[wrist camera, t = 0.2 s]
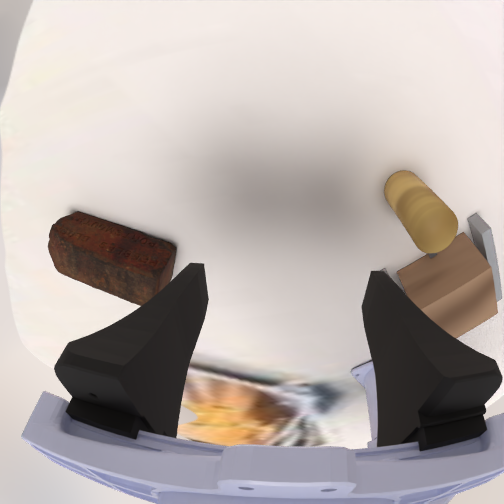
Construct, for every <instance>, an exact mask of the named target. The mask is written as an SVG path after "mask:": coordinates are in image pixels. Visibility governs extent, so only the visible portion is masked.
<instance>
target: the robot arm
mask: <svg viewBox="0 0 504 504" xmlns="http://www.w3.org/2000/svg"><path fill="white" fill-rule="evenodd" d="M208 300H209V299H208V292H207V284H206V277H205V269H204V264H202V263H190V264H189V265H188V266H186V267H185V268H184V269H183V270H182V271H181V272H180V273H179V274H178V275H177V276H176V277H175V278H174V279H173V280H172V281H171V282H170V283H168V284H167V285H166V286H165V287H164V288H163V289H162V290H161V291H160V292H158V293H157V294H156V295H155V296H154V297H152V298H151V299H150V300H149V301H148V302H146V303H145V304H144V305H142V306H141V307H140V308H138V309H137V310H135V311H134V312H132V313H131V314H129V315H128V316H126V317H124V318H122V319H121V320H119V321H117V322H115V323H114V324H112V325H110V326H108V327H106V328H104V329H102V330H100V331H98V332H95V333H93V334H91V335H88V336H86V337H83V338H80V339H77V340H74V341H72V342H69V343H68V344H67V346H66V348H65V349H64V351H63V353H62V354H61V356H60V358H59V359H58V361H57V363H56V364H55V367H54V370H55V373H56V375H57V377H58V379H59V380H60V381H61V383H62V384H63V386H64V387H65V388H66V389H67V391H68V392H69V393H70V394H71V395H72V399H71V401H70V403H69V402H68V401H66V400H65V399H63V398H61V397H58V396H56V395H53V394H51V393H48V392H46V391H44V392H43V393H42V395H41V397H40V399H39V401H38V403H37V405H36V406H35V409H34V411H33V413H32V414H31V416H30V419H29V421H28V423H27V425H26V427H25V429H24V431H23V433H22V435H21V437H22V439H23V440H25V441H26V442H27V443H28V444H30V445H31V446H32V447H33V448H35V449H36V450H37V451H39V452H40V453H42V454H43V455H44V456H46V457H47V458H48V459H50V460H51V461H53V462H54V463H56V464H59V465H60V466H63V467H65V468H67V469H69V470H71V471H73V472H75V473H77V474H80V475H82V476H84V477H86V478H88V479H91V480H93V481H95V482H98V483H100V484H102V485H105V486H107V487H110V488H112V489H115V490H118V491H120V492H123V493H126V494H128V495H131V496H134V497H137V498H140V499H143V500H147V501H149V502H153V503H156V504H448V502H449V501H450V500H451V499H452V498H453V497H454V496H455V495H456V494H458V493H461V492H464V491H466V490H469V489H471V488H474V487H477V486H479V485H482V484H484V483H487V482H489V481H490V480H492V479H494V478H496V477H497V476H499V475H500V474H502V473H504V413H502V414H499V415H495V416H492V417H490V418H488V419H486V420H484V416H483V414H485V413H486V408H485V405H484V404H485V403H486V402H487V401H488V400H489V399H490V398H491V397H492V396H493V394H494V393H495V392H496V391H497V390H498V388H499V387H500V385H501V383H502V375H501V372H500V370H499V368H498V365H497V363H496V361H495V360H494V359H492V358H490V357H488V356H485V355H483V354H481V353H479V352H477V351H475V350H474V349H472V348H470V347H468V346H467V345H465V344H464V343H462V342H460V341H459V340H457V339H456V338H454V337H453V336H452V335H450V334H449V333H447V332H446V331H445V330H443V329H442V328H441V327H440V326H438V325H437V324H436V323H435V322H434V321H432V320H431V319H430V318H429V317H428V316H427V315H426V314H425V313H424V312H423V311H422V310H421V309H420V308H418V307H417V306H416V305H415V304H414V303H413V301H412V300H411V299H410V298H409V297H408V296H407V295H406V294H405V293H404V292H403V291H402V290H401V289H400V288H399V286H398V285H397V284H396V283H395V282H394V281H393V280H392V279H391V278H390V277H389V276H388V275H387V274H386V273H385V272H384V271H371V274H370V278H369V281H368V285H367V289H366V293H365V297H364V300H363V304H362V313H363V321H364V328H365V332H366V336H367V340H368V345H369V349H370V353H371V357H372V361H371V362H369V363H367V364H364V365H362V366H359V367H357V368H355V369H353V370H352V371H351V374H352V375H353V376H354V377H355V378H356V380H357V381H358V382H359V383H360V384H361V385H362V386H363V387H364V388H365V389H366V396H367V404H368V411H369V419H370V427H371V436H372V441H370V442H368V443H367V444H368V448H364V449H351V450H350V449H348V448H345V447H332V446H325V447H291V446H267V445H234V446H221V445H214V444H207V443H200V442H194V441H188V440H182V439H177V438H176V436H177V428H178V420H179V414H180V407H181V401H182V396H183V390H184V385H185V380H186V376H187V371H188V367H189V363H190V360H191V357H192V354H193V351H194V348H195V345H196V342H197V340H198V337H199V334H200V331H201V328H202V325H203V322H204V319H205V315H206V310H207V305H208Z"/></svg>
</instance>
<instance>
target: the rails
mask: <svg viewBox="0 0 504 504" xmlns="http://www.w3.org/2000/svg"><path fill="white" fill-rule="evenodd" d="M468 222H469V225H470V229H471V232H472V236H473V240H474V243H475V246H476V248H477V249H478V250H479V251H480V253H481V254H482V255H483V256H484V258H485V259H486V260H487V262H488V263H489V264H490V266H491V267H492V273H493V279H494V285H495V293H496V301H499V300H500V299H502V291H501V282H500V275H499V268H498V262H497V256H496V250H495V245H494V240H493V235H492V230H491V227H490V226H489V225H488V224H487V223H486V222H485V221H484V220H483V219H482V218H481V217H480V216H479V215H478V214H477V213H476V214H474V215H473V216H471V217H470V218H468ZM381 271H384V272H385V273H386V274H387V275H388V273H387V271H386V269H383V270H381ZM388 276H389V275H388Z"/></svg>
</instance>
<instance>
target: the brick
mask: <svg viewBox="0 0 504 504" xmlns="http://www.w3.org/2000/svg"><path fill="white" fill-rule="evenodd" d="M49 238H50V240H49V243H48V249H49V253H50V255H51V258H52V260H53V263H54V266H55V268H56V269H57V271H58V272H60V273H61V274H63V275H65V276H68V277H70V278H72V279H75V280H77V281H80V282H82V283H85V284H87V285H89V286H92V287H93V288H96V289H100V290H102V291H105V292H107V293H109V294H112V295H114V296H118V297H119V298H121V299H124V300H127V301H129V302H131V303H135V304H137V305H140V306H142V305H144V304H145V303H146V302H148V301H149V300H150V299H151V298H152V297H154V296H155V295H156V294H157V293H158V292H160V291H161V290H162V289H163V288H164V287H165V286H166V285H167V284H168V283H170V280H171V278H172V273H173V267H174V262H175V256H176V247H175V246H174V245H173V244H171V243H169V242H166V241H163V240H160V239H156V238H152V237H150V236H148V235H145V234H144V233H142V232H139V231H135V230H132V229H130V228H126V227H124V226H121V225H117V224H114V223H111V222H108V221H105V220H102V219H99V218H96V217H93V216H90V215H87V214H84V213H81V212H75V213H73V214H71V215H68V216H65V217H62V218H60V219H59V220H58V221H57V222H56V223H55V224H53V225H52V227H51V230H50V233H49Z"/></svg>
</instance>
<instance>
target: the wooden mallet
mask: <svg viewBox="0 0 504 504" xmlns="http://www.w3.org/2000/svg"><path fill="white" fill-rule="evenodd" d="M384 193H385V198H386V200H387V202H388V203H389V205H390V206H391V208H392V209H393V210H394V212H395V213H396V215H397V216H398V218H399V219H400V221H401V222H402V224H403V226H404V227H405V229H406V230H407V232H408V233H409V235H410V236H411V238H412V240H413V241H414V243H415V244H416V246H417V247H418V249H420V250H421V251H422V252H425V253H428V254H427V255H425V256H424V257H422V258H420V259H418V260H417V261H415V262H413V263H412V264H410V265H408V266H406V267H405V268H403V269H401V270H399V271H397V274H398V276H399V278H400V280H401V283H402V285H403V287H404V290H405V292H406V295H407V296H408V297H409V298H410V299H411V300H412V301H413V303H414V304H415V305H416V306H417V307H418V308H420V309H421V310H422V311H423V312H424V313H425V314H426V315H427V316H428V317H429V318H430V319H431V320H432V321H434V322H435V323H436V324H437V325H438V326H440V327H441V328H442V329H443V330H445V331H446V332H447V333H449V334H450V335H452V336H453V337H454V338H458V337H459V336H461V335H463V334H465V333H466V332H468V331H470V330H471V329H473V328H475V327H477V326H478V325H480V324H481V323H483V322H485V321H486V320H488V319H489V318H491V317H493V316H494V315H496V314H497V313H498V310H497V301H496V293H495V285H494V279H493V273H492V267H491V266H490V264H489V263H488V262H487V260H486V259H485V258H484V256H483V255H482V254H481V253H480V251H479V250H478V249H477V248H476V246H475V245H474V244H473V243H472V241H471V240H470V239H469V238H468V237H467V235H466V234H465V233H464V232H463V233H461V234H460V235H458V236H456V233H457V230H458V220H457V217H456V215H455V214H454V212H453V211H452V210H451V209H450V208H449V207H448V206H447V205H446V204H445V203H444V202H443V201H442V200H441V199H440V198H439V197H438V196H437V195H436V194H435V193H434V192H433V191H432V190H431V189H430V188H429V187H428V186H427V185H426V184H425V183H424V182H423V181H422V180H421V179H419V178H418V177H417V176H416V175H415V174H414V173H412V172H410V171H399V172H396V173H394V174H393V175H392V176H391V177H390V178H389V179H388V181H387V182H386V185H385V190H384ZM455 236H456V237H455Z"/></svg>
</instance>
